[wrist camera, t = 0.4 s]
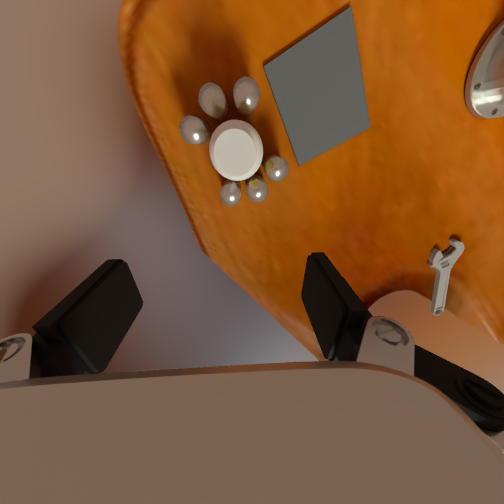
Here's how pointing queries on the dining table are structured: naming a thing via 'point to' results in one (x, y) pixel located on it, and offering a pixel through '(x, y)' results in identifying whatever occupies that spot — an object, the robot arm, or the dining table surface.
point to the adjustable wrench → (443, 273)
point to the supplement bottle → (236, 150)
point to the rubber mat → (320, 89)
